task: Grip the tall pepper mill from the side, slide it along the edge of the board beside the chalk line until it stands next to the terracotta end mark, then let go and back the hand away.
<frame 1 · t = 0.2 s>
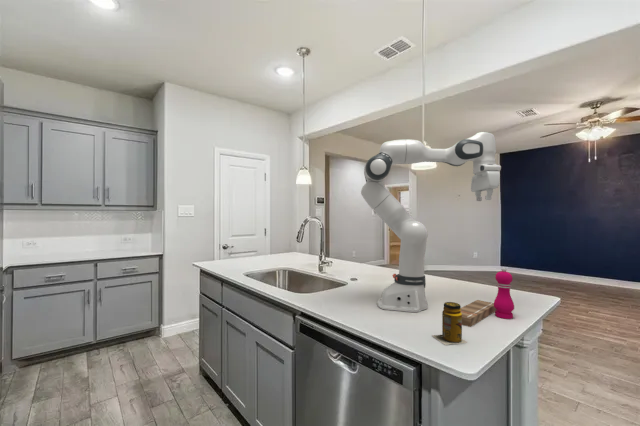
hand: (483, 200, 134), 48 cm above the counter, tool pointing down, fingers open, 8 cm apart
pepper mill: (503, 316, 124), on the counter
board: (474, 315, 125), on the counter
condiment: (449, 340, 102), on the counter
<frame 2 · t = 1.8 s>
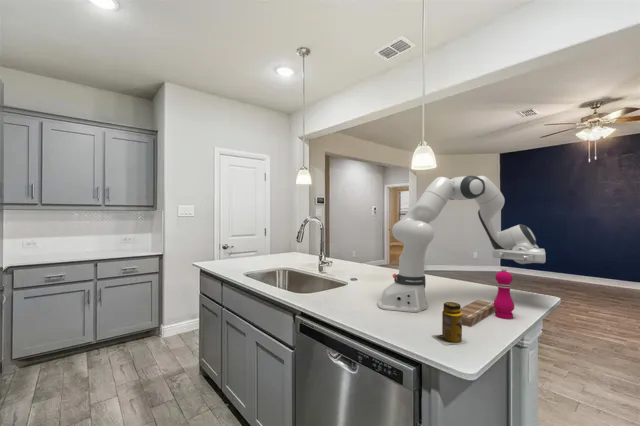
hand: (513, 257, 132), 23 cm above the counter, tool horizontal, fingers open, 8 cm apart
nothing on the counter moved.
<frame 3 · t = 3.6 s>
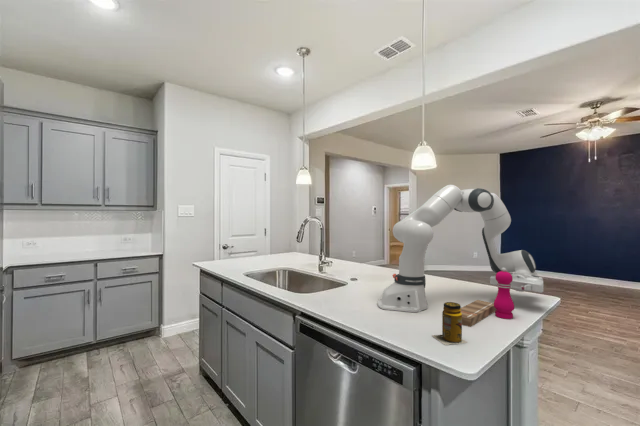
hand: (510, 286, 131), 11 cm above the counter, tool horizontal, fingers open, 8 cm apart
nothing on the counter moved.
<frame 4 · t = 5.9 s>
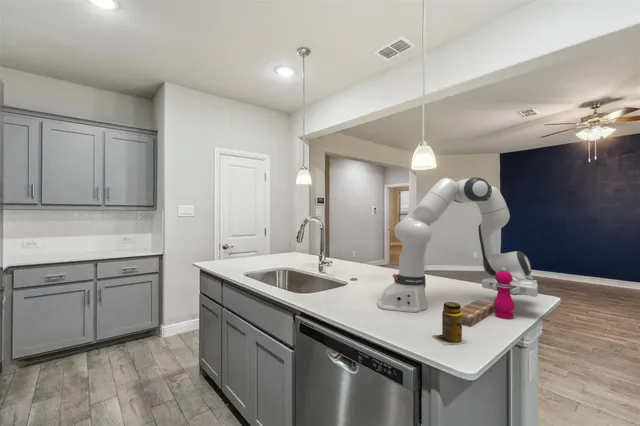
hand: (503, 289, 123), 11 cm above the counter, tool horizontal, fingers closed on pepper mill, 5 cm apart
pepper mill: (503, 316, 124), on the counter, touching gripper
everything else where it was.
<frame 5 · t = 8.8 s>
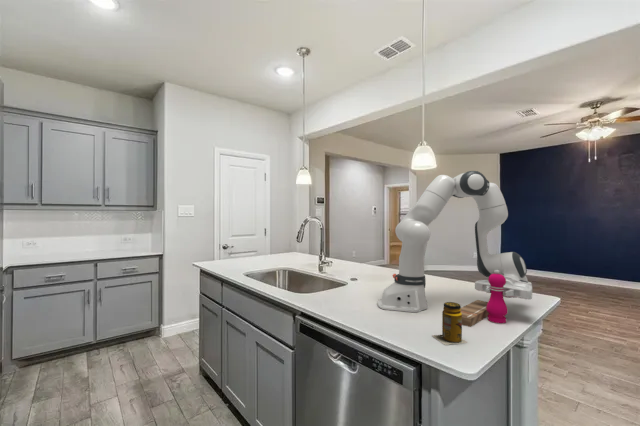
hand: (496, 292, 118), 11 cm above the counter, tool horizontal, fingers closed on pepper mill, 5 cm apart
pepper mill: (496, 321, 119), on the counter, touching gripper
everything else where it was.
when the fingers open (11 cm above the counter, at t = 11.9 s): pepper mill stays where it is, on the counter.
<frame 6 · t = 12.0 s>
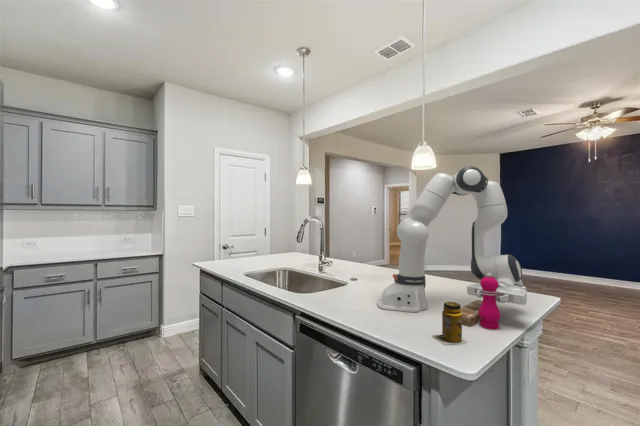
hand: (488, 297, 113), 11 cm above the counter, tool horizontal, fingers open, 6 cm apart
pepper mill: (489, 326, 113), on the counter
everything else where it was.
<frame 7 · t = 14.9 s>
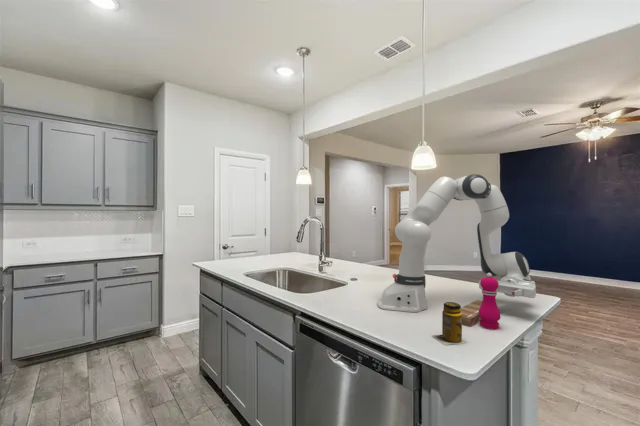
hand: (500, 291, 121), 11 cm above the counter, tool horizontal, fingers open, 8 cm apart
nothing on the counter moved.
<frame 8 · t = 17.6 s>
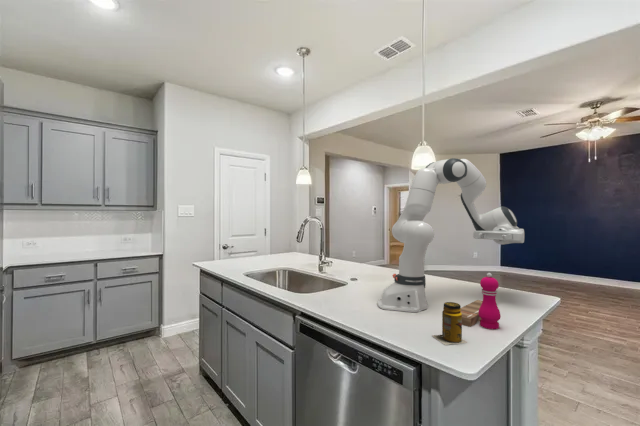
hand: (492, 236, 133), 32 cm above the counter, tool horizontal, fingers open, 8 cm apart
nothing on the counter moved.
at the end: pepper mill inside the target area on the counter beside the board (0.2 cm from its centre), on the counter; pepper mill tilted 0°; the gripper is holding nothing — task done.
